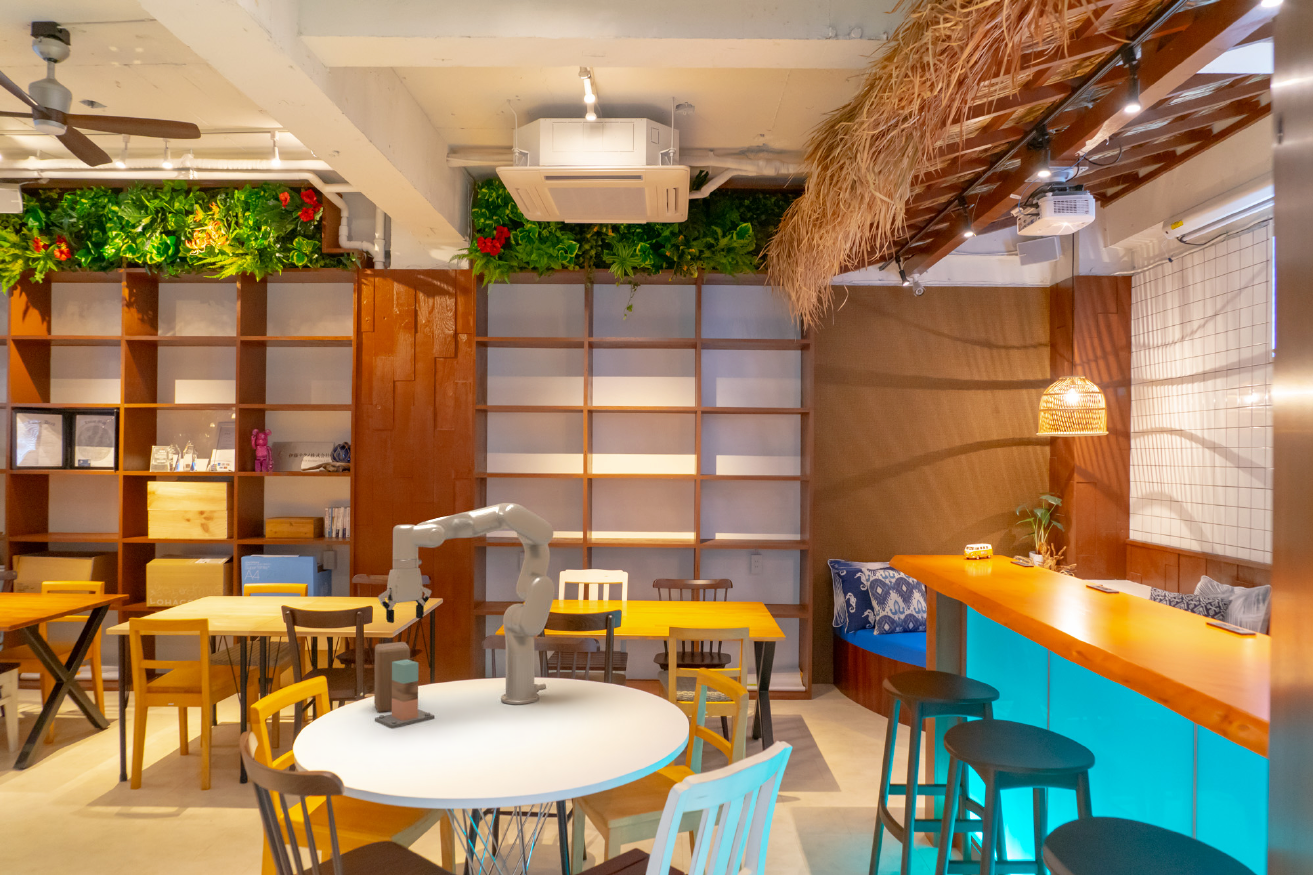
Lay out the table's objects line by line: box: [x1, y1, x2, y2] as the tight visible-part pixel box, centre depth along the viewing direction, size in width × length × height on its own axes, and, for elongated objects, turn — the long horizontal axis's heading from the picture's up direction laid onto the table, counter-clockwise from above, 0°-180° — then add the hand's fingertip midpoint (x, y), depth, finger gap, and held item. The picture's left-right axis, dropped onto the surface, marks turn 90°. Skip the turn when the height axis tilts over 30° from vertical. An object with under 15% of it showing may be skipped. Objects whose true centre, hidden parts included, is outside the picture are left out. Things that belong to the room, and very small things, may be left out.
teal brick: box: [392, 659, 419, 684], centre depth 255 cm, size 5×7×6 cm
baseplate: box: [374, 698, 435, 729], centre depth 254 cm, size 14×11×6 cm
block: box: [373, 641, 411, 713], centre depth 269 cm, size 10×10×20 cm
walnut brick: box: [392, 680, 419, 702], centre depth 254 cm, size 5×7×6 cm
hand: (405, 620), depth 255 cm, fingers open, 9 cm apart
